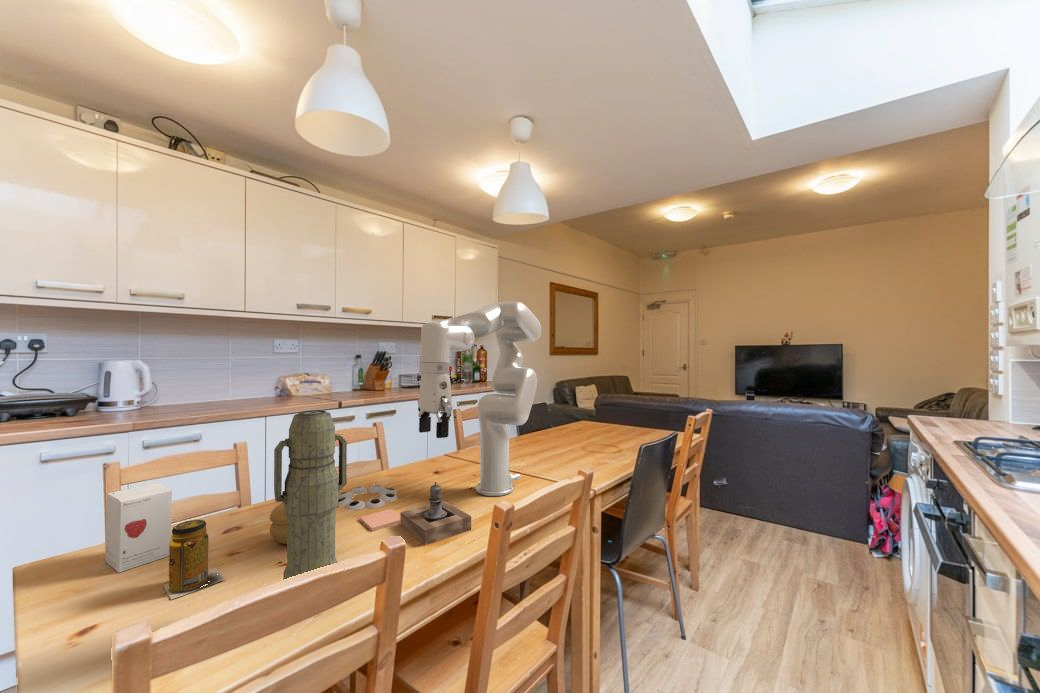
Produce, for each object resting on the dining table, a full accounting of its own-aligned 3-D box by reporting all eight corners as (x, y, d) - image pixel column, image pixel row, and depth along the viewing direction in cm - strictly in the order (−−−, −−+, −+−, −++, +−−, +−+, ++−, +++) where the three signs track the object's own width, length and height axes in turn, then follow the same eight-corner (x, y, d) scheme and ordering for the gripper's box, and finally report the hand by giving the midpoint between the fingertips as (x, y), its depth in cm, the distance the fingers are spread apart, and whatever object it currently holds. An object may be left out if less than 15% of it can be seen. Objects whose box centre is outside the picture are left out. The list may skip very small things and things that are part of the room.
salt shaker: (441, 533, 104) (441, 486, 104) (420, 531, 105) (420, 484, 105) (450, 524, 109) (450, 478, 110) (429, 522, 111) (429, 477, 111)
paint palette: (342, 517, 115) (342, 510, 115) (324, 497, 130) (324, 491, 130) (409, 501, 127) (409, 494, 127) (385, 484, 142) (385, 479, 142)
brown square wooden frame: (443, 512, 117) (443, 500, 117) (471, 529, 106) (471, 516, 106) (400, 525, 108) (400, 512, 108) (425, 545, 98) (425, 530, 98)
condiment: (163, 585, 81) (163, 524, 81) (215, 568, 87) (215, 511, 87) (171, 600, 76) (171, 535, 76) (225, 581, 82) (226, 521, 82)
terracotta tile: (391, 511, 118) (391, 508, 118) (405, 521, 111) (405, 518, 111) (359, 520, 112) (359, 517, 112) (371, 531, 105) (371, 528, 105)
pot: (330, 540, 100) (330, 499, 100) (274, 556, 92) (275, 511, 92) (316, 524, 109) (316, 486, 109) (264, 537, 101) (265, 497, 101)
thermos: (354, 599, 76) (355, 411, 77) (284, 631, 68) (285, 418, 68) (333, 580, 82) (335, 406, 83) (267, 608, 74) (268, 413, 74)
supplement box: (117, 574, 85) (118, 501, 85) (103, 562, 89) (104, 493, 89) (172, 555, 92) (173, 488, 92) (157, 545, 97) (157, 481, 97)
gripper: (464, 370, 104) (462, 438, 104) (432, 368, 118) (430, 428, 117) (437, 370, 100) (436, 441, 99) (407, 368, 113) (405, 431, 112)
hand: (433, 434), depth 108 cm, fingers open, 9 cm apart
